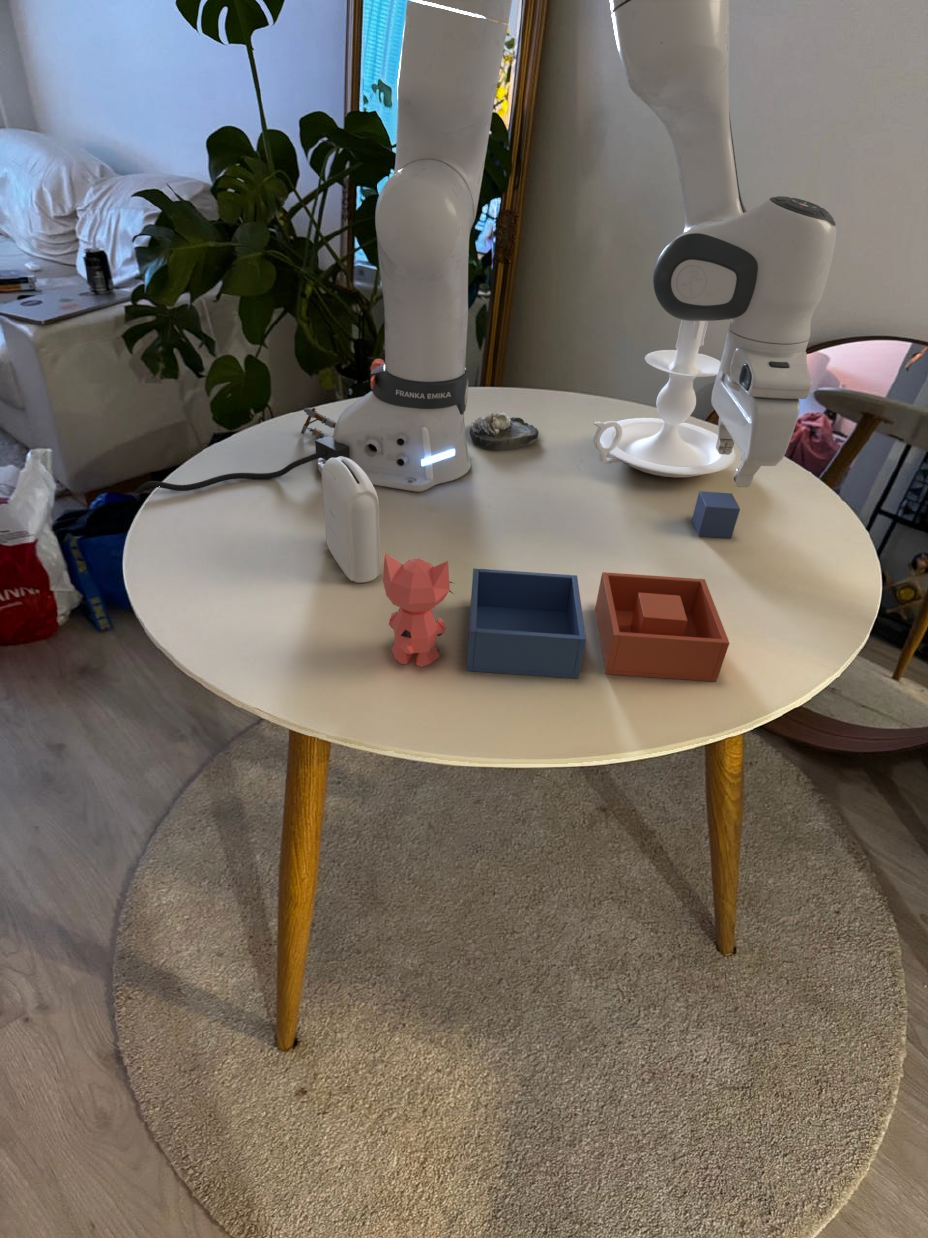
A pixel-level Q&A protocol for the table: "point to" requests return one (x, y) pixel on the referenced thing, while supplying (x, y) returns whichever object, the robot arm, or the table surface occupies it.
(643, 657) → the terracotta bin
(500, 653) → the slate bin
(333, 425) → the wooden post with brackets
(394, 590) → the cat figurine
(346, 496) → the photo printer
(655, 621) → the terracotta block
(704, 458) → the candlestick
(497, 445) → the shell on grey dish
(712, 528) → the slate block
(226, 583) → the table surface
